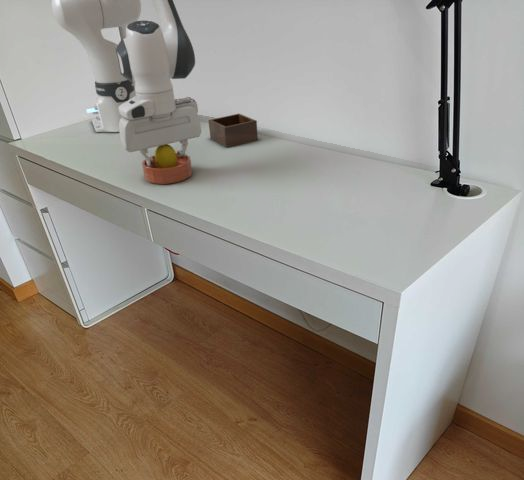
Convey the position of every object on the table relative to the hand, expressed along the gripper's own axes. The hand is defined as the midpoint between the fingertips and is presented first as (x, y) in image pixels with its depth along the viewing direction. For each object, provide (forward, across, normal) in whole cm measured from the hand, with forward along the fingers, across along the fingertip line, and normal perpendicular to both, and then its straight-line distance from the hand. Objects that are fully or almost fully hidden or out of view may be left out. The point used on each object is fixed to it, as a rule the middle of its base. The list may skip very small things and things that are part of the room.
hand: (166, 161), depth 127 cm
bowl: (+4, 0, 0) cm, 4 cm away
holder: (+4, -28, -16) cm, 32 cm away
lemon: (+4, 0, 0) cm, 4 cm away
